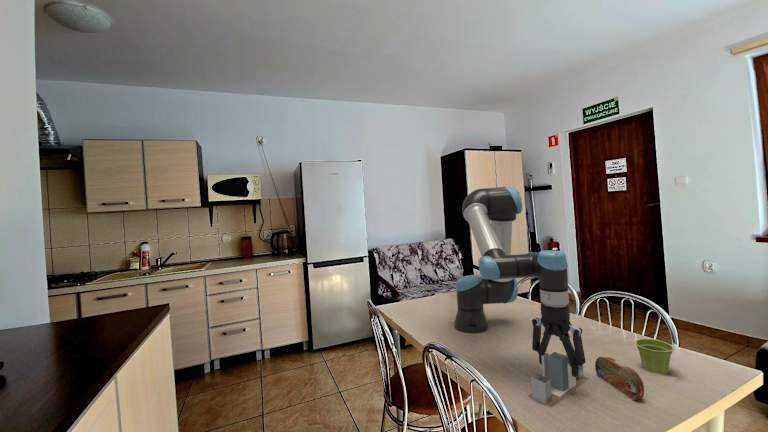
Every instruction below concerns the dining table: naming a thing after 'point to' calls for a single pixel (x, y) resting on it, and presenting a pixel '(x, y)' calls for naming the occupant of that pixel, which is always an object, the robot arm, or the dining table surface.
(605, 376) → the tin
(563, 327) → the robot arm
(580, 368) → the far end finger
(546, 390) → the near end finger
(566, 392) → the brown flat board
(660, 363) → the plant pot
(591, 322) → the dining table surface
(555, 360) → the block
